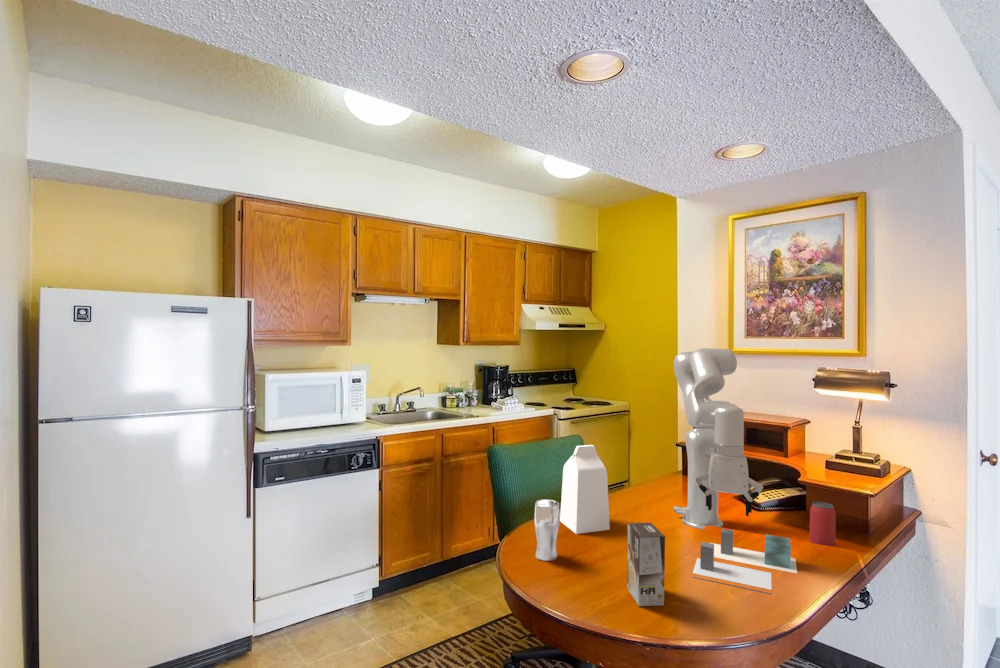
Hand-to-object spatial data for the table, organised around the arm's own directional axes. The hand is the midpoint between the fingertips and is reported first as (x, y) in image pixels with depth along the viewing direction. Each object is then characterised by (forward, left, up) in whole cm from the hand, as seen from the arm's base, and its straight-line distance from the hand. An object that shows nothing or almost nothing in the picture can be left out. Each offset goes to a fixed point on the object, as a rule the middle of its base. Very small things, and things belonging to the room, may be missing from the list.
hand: (728, 511), depth 145 cm
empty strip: (+2, -12, -13) cm, 18 cm away
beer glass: (-45, -23, -13) cm, 53 cm away
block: (+12, +1, -12) cm, 17 cm away
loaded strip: (+6, +1, -13) cm, 14 cm away
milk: (-43, +5, -14) cm, 46 cm away
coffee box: (-16, -32, -13) cm, 39 cm away
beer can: (+25, +26, -13) cm, 38 cm away
